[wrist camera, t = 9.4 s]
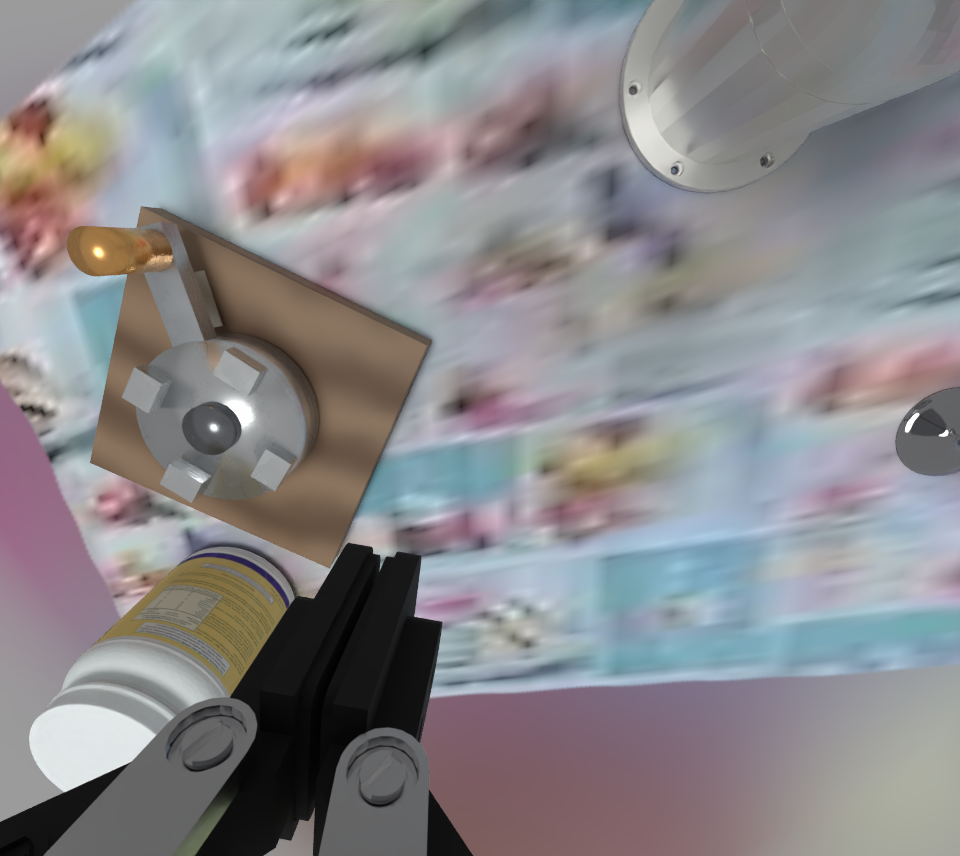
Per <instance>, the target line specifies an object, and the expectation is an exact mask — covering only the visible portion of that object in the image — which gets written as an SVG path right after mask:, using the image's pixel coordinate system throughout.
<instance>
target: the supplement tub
mask: <svg viewBox="0 0 960 856" xmlns="http://www.w3.org/2000/svg"><path fill="white" fill-rule="evenodd" d="M294 599H295V597H294V594H293V591H292V589H291V587H290V585H289V583H288V582H287V580H286V579H285V577H284V576H283V575H282V573H281V572H280V571H279V570H278V569H277V568H276V567H274V566H273V565H272V564H271V563H269V562H268V561H267V560H265V559H264V558H262V557H260V556H258V555H256V554H254V553H252V552H249V551H246V550H243V549H239V548H234V547H213V548H207V549H204V550H201V551H198V552H196V553H194V554H192V555H190V556H189V557H187V558H186V559H184V560H183V561H181V562H180V563H179V564H178V565H177V567H176V568H175V569H173V570H172V571H171V572H170V573H169V574H168V575H167V576H166V577H165V578H164V579H163V580H162V581H161V582H160V583H159V584H157V585H156V586H155V587H154V588H153V589H152V590H151V591H150V592H149V593H148V594H147V595H146V596H145V597H144V598H143V599H141V600H140V601H139V602H138V603H137V604H136V605H135V606H134V607H133V608H132V609H131V610H130V611H129V612H128V613H127V614H125V615H124V616H123V617H122V618H121V619H120V620H119V621H118V622H117V623H116V624H115V625H114V626H113V627H112V628H110V629H109V631H107V632H106V633H105V634H104V635H103V636H102V637H101V638H100V639H99V640H98V641H97V642H96V643H95V644H94V645H92V646H91V647H90V648H89V649H88V650H87V651H85V652H84V653H83V654H82V655H81V656H80V658H79V659H78V660H77V661H76V662H75V664H74V665H73V666H72V668H71V669H70V671H69V672H68V674H67V677H66V679H65V681H64V684H63V688H62V691H61V692H60V693H59V694H57V695H56V697H54V699H53V700H52V701H51V702H50V704H49V706H48V707H47V708H46V709H45V710H44V711H43V712H42V713H41V714H40V715H39V717H38V718H37V719H36V720H35V721H34V723H33V725H32V728H31V731H30V735H29V741H30V748H31V752H32V755H33V757H34V759H35V761H36V763H37V765H38V766H39V768H40V769H41V770H42V771H43V773H44V774H45V775H46V776H47V778H49V780H50V781H51V782H53V783H54V784H55V785H56V786H57V787H58V788H60V789H61V790H62V791H64V792H66V791H69V790H71V789H73V788H75V787H77V786H80V785H82V784H84V783H86V782H88V781H90V780H93V779H95V778H97V777H99V776H101V775H103V774H106V773H108V772H110V771H112V770H114V769H117V768H119V767H121V766H123V765H125V764H127V763H130V762H132V761H133V759H134V758H135V757H136V756H137V755H138V754H139V753H140V752H141V751H142V750H143V749H144V748H145V747H146V746H147V745H148V744H149V742H150V741H151V740H152V739H153V738H154V737H155V736H156V735H157V734H158V733H159V732H160V731H161V730H162V729H163V728H164V726H165V725H166V724H167V723H168V722H169V721H170V720H172V719H173V718H174V717H175V716H176V715H177V714H179V713H180V712H181V711H183V710H184V709H186V708H188V707H190V706H192V705H193V704H195V703H198V702H201V701H204V700H208V699H211V698H222V697H227V698H229V697H230V696H231V694H232V693H233V691H234V690H235V688H236V687H237V685H238V684H239V682H240V681H241V679H242V678H243V676H244V675H245V673H246V671H247V670H248V668H249V667H250V665H251V664H252V662H253V661H254V659H255V658H256V656H257V655H258V653H259V652H260V650H261V648H262V647H263V645H264V644H265V642H266V641H267V639H268V638H269V636H270V635H271V633H272V632H273V630H274V629H275V627H276V625H277V624H278V622H279V621H280V619H281V618H282V616H283V615H284V613H285V612H286V610H287V609H288V607H289V606H290V604H291V603H292V601H293V600H294Z"/></svg>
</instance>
